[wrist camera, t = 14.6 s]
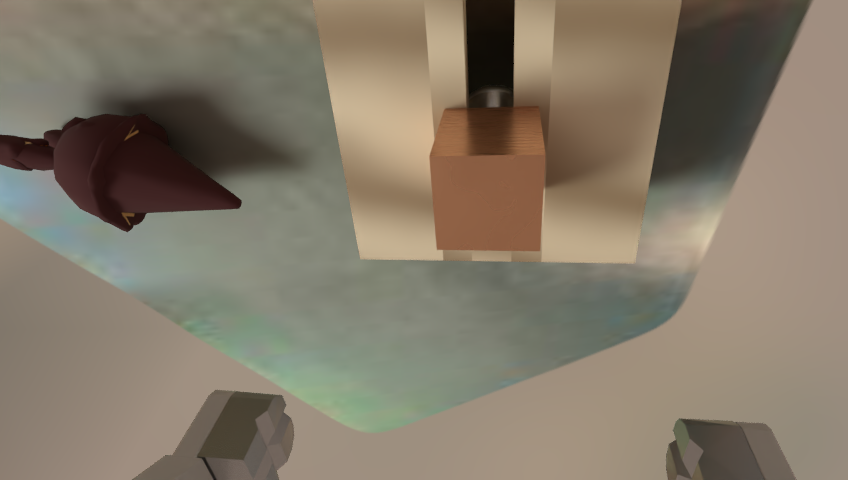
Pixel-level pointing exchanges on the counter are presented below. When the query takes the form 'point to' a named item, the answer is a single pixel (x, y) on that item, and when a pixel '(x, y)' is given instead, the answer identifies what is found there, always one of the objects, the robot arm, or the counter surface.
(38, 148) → the icecream
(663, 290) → the counter surface
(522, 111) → the wooden block
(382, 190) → the keyhole plate
